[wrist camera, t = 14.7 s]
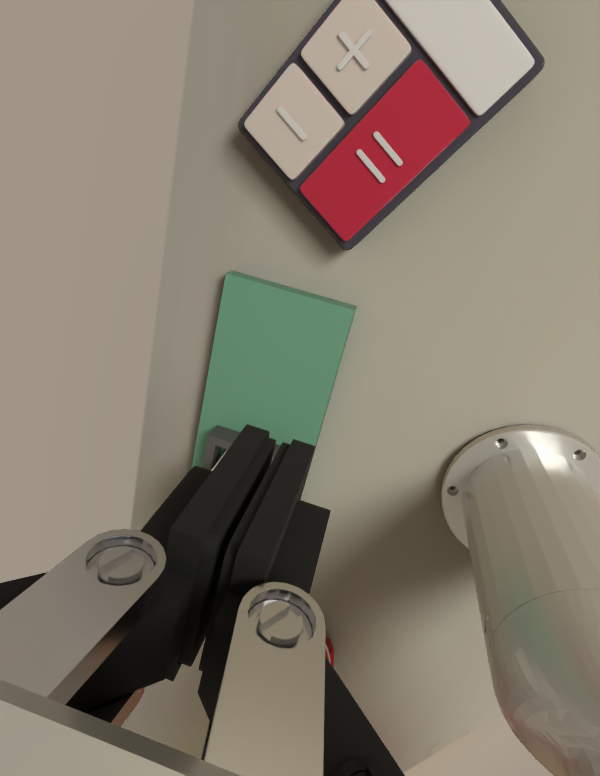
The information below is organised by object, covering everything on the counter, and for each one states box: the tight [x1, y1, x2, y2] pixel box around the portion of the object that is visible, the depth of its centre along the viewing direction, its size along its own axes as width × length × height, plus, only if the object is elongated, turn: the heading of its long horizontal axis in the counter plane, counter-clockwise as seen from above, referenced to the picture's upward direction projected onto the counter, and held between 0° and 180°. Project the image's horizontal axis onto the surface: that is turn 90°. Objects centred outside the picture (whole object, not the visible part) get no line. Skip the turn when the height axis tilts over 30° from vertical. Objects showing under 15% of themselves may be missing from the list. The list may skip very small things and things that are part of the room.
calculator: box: [238, 0, 544, 250], centre depth 30 cm, size 11×4×15 cm
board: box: [191, 271, 357, 496], centre depth 40 cm, size 22×10×4 cm, turn 166°
